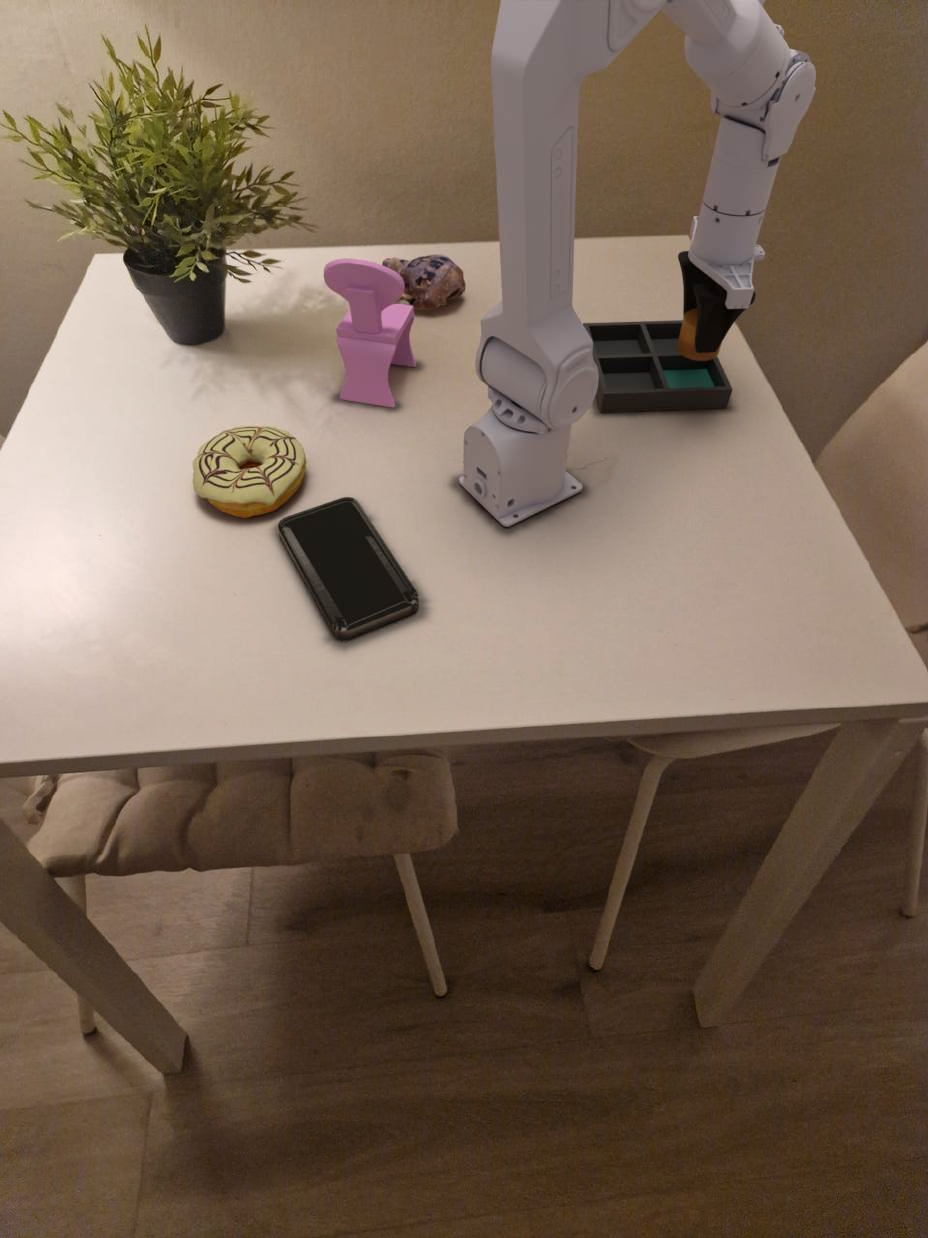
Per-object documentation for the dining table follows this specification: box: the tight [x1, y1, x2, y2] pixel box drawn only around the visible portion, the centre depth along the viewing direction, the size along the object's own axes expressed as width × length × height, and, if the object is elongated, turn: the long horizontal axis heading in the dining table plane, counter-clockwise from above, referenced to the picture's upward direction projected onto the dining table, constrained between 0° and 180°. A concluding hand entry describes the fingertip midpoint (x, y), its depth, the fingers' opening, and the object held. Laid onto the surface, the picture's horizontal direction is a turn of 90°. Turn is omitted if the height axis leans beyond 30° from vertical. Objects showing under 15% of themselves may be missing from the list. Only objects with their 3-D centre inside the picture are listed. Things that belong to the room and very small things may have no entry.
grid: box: [582, 319, 734, 414], centre depth 89 cm, size 14×14×2 cm
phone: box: [277, 496, 420, 640], centre depth 70 cm, size 8×1×15 cm
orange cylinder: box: [677, 308, 723, 361], centre depth 83 cm, size 4×4×4 cm
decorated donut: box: [192, 425, 307, 519], centre depth 76 cm, size 10×11×4 cm
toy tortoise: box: [381, 254, 467, 311], centre depth 98 cm, size 12×8×6 cm, turn 40°
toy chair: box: [323, 257, 417, 409], centre depth 83 cm, size 8×9×15 cm
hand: (699, 337), depth 83 cm, fingers closed on orange cylinder, 4 cm apart
